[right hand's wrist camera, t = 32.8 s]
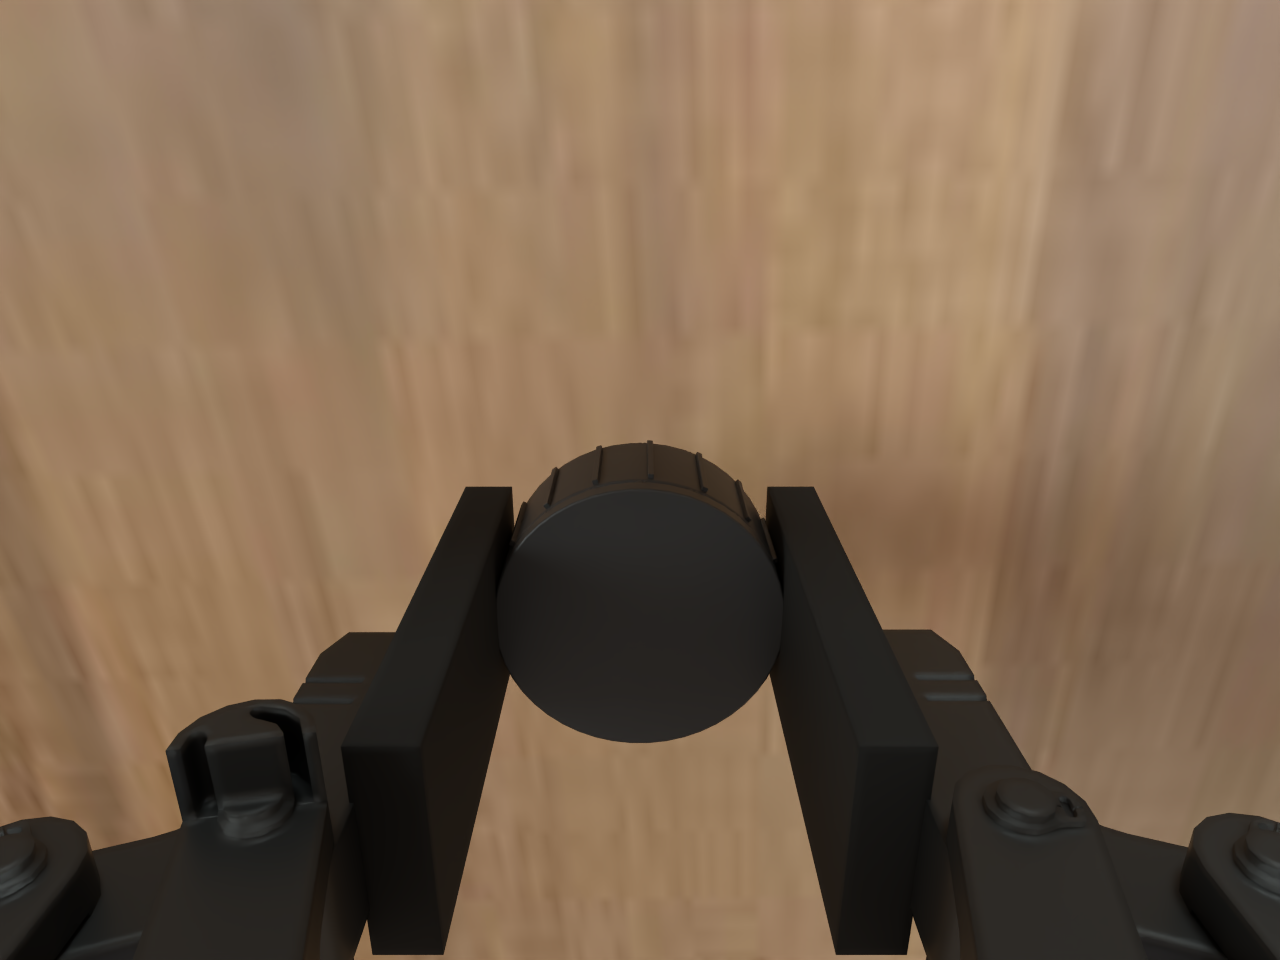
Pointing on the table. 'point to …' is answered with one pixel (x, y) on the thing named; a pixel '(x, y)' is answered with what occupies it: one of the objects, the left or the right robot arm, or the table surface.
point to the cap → (639, 595)
